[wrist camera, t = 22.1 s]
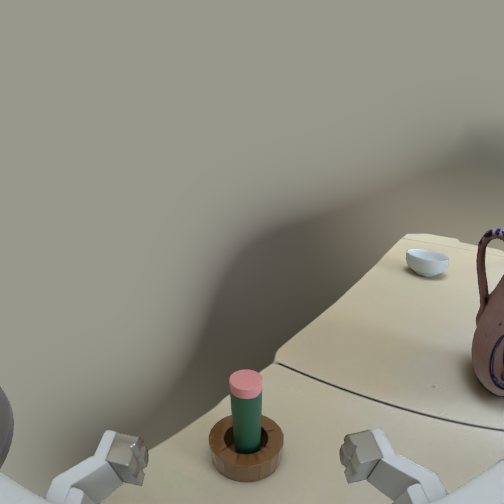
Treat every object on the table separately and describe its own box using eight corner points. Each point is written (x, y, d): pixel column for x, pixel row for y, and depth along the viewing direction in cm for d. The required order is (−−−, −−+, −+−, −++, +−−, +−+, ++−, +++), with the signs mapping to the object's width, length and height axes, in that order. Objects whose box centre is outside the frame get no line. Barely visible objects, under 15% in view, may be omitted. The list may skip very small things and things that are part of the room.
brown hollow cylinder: (232, 492, 20) (229, 476, 19) (202, 444, 27) (197, 425, 26) (294, 463, 24) (298, 445, 23) (258, 424, 30) (259, 404, 29)
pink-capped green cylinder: (242, 467, 23) (238, 393, 20) (231, 451, 26) (223, 374, 22) (264, 457, 25) (268, 382, 21) (252, 442, 27) (251, 365, 24)
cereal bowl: (453, 281, 75) (457, 261, 73) (415, 281, 77) (418, 260, 75) (433, 266, 91) (436, 248, 89) (397, 265, 93) (399, 247, 91)
